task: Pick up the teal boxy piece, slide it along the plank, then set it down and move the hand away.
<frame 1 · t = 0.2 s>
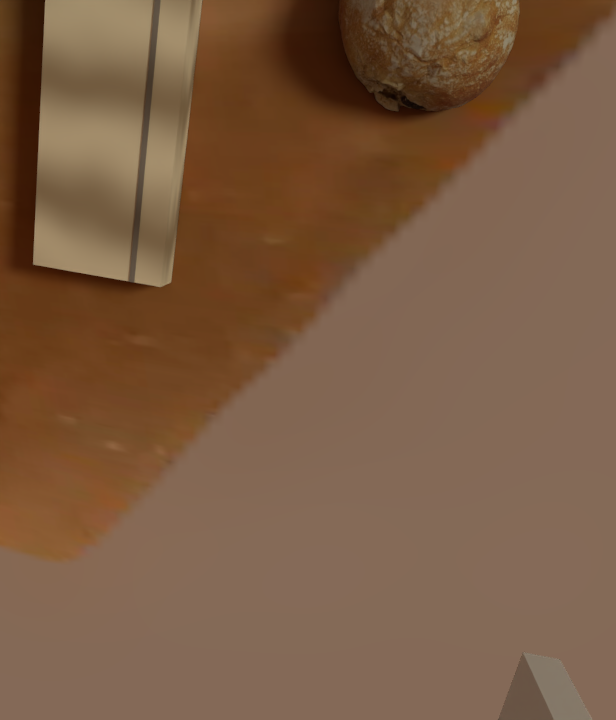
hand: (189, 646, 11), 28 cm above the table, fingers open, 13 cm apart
plank: (127, 86, 34), on the table
bread roll: (420, 21, 33), on the table
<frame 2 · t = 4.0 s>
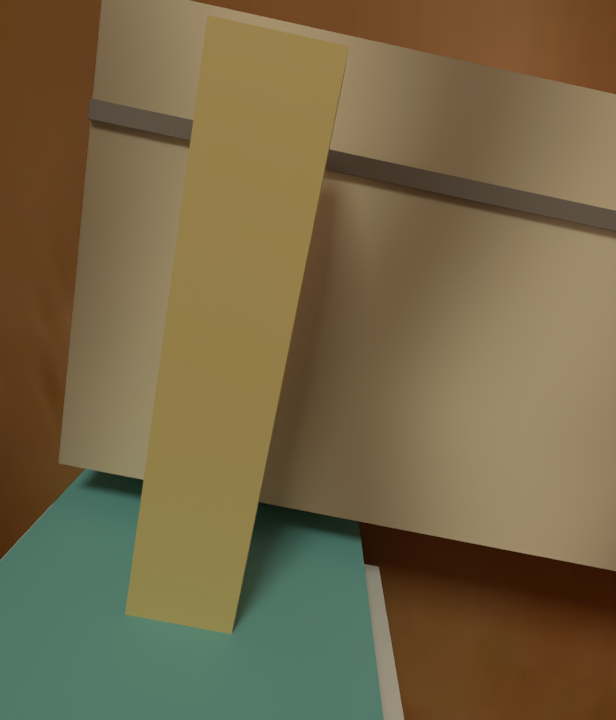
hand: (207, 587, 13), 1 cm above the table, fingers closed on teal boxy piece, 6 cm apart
teal boxy piece: (214, 562, 14), on the table, touching gripper
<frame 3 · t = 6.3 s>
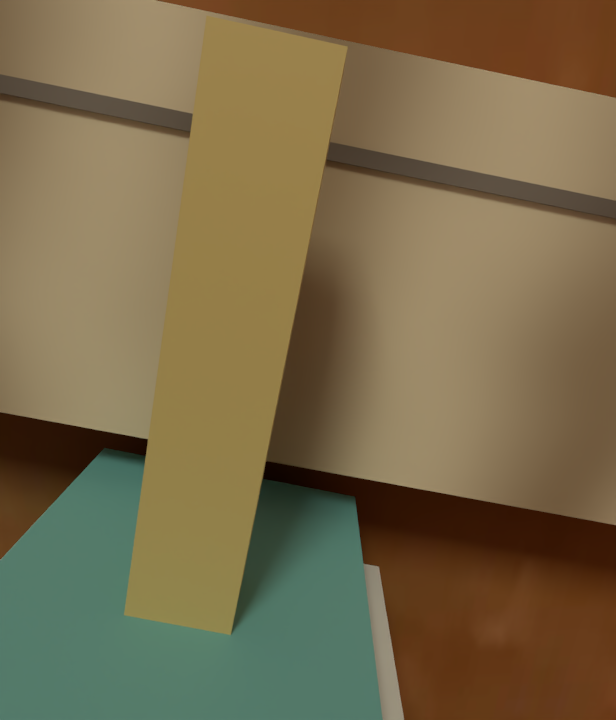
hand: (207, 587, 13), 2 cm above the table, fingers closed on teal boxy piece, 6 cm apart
plank: (271, 253, 13), on the table
teal boxy piece: (214, 562, 14), point 1 cm above the table, touching gripper
when the fingers open (1 cm above the table, at t = 8.7 s): teal boxy piece stays where it is, on the table.
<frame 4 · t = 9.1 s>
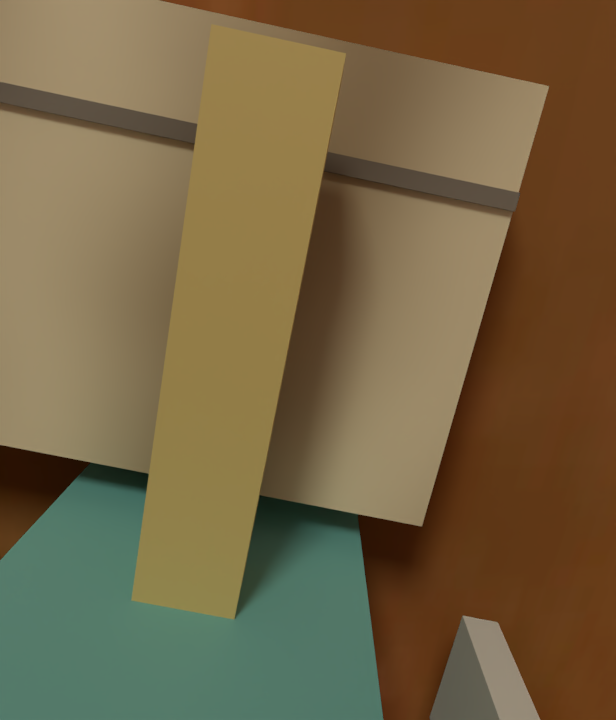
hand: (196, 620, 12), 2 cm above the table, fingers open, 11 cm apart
teal boxy piece: (216, 554, 14), on the table
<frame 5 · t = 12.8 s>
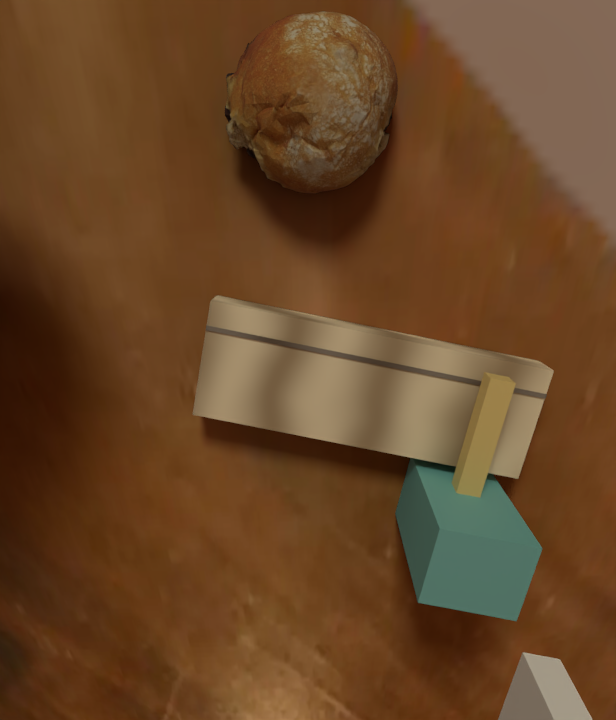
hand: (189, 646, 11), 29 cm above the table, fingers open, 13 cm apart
plank: (366, 382, 39), on the table
teal boxy piece: (442, 492, 42), on the table
bread roll: (310, 113, 35), on the table
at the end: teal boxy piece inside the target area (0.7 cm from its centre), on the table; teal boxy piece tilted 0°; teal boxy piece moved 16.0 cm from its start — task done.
